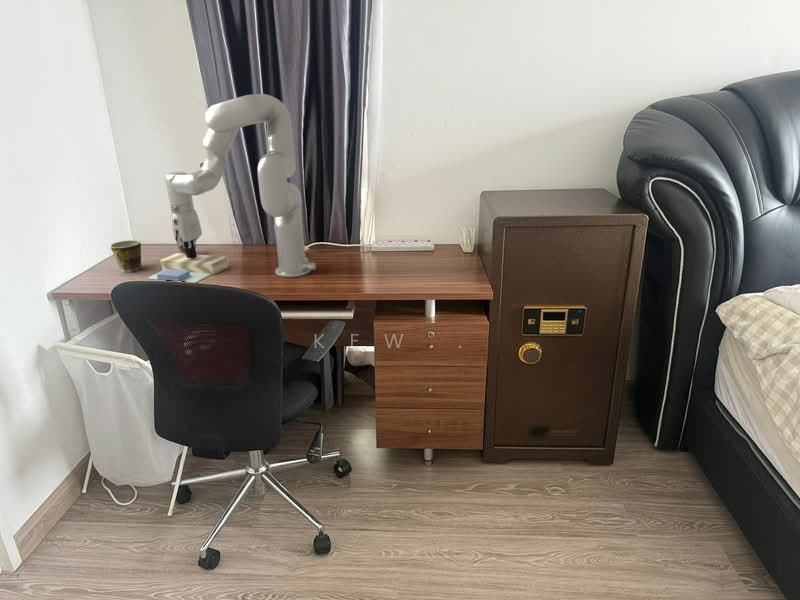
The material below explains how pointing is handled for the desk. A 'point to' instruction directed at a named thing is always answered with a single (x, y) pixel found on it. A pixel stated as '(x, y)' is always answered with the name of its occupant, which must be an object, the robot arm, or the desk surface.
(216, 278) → the desk surface
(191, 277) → the mat
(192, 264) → the block
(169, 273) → the blue rectangular block
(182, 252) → the cup
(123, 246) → the ceramic cup
